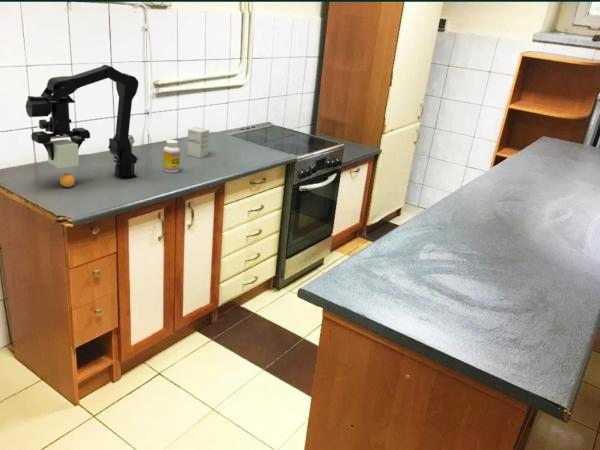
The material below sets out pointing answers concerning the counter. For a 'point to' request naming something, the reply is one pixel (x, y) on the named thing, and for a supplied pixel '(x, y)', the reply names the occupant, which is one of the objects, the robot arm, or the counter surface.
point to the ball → (67, 180)
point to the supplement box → (197, 142)
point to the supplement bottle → (171, 157)
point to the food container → (130, 143)
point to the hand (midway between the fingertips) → (63, 158)
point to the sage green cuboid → (64, 154)
